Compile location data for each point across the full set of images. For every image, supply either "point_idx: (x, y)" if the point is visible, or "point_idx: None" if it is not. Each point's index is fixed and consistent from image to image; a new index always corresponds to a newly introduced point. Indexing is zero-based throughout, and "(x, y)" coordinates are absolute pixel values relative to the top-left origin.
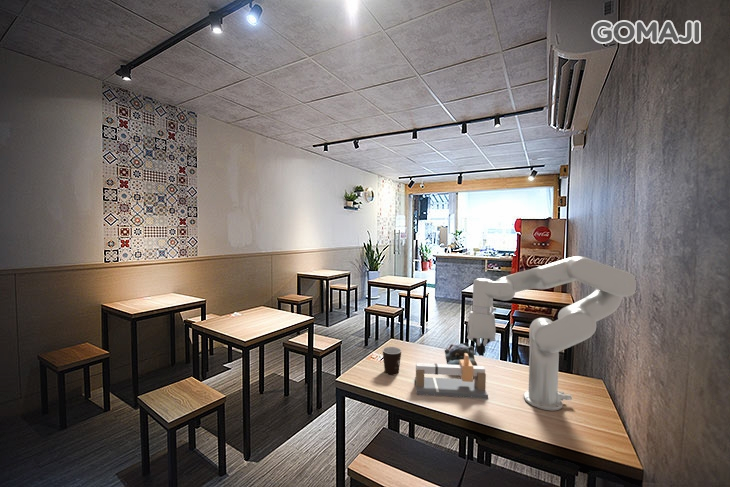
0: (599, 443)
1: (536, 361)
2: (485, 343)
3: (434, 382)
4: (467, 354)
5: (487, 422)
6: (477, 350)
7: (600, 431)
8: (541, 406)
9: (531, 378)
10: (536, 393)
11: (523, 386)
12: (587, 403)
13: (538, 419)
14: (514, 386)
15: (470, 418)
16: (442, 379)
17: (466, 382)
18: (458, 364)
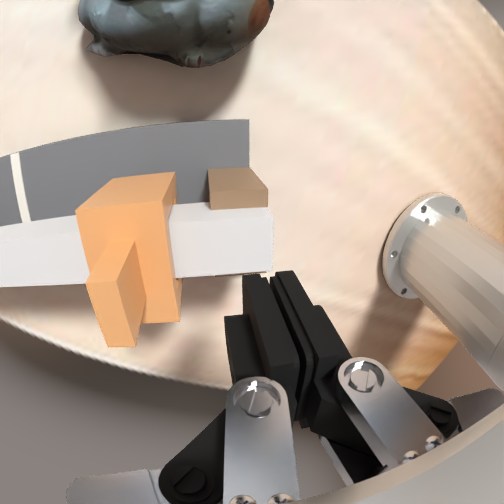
0: (410, 370)
1: (492, 375)
2: (350, 444)
3: (19, 206)
4: (121, 313)
5: (209, 379)
6: (230, 370)
7: (441, 337)
8: (401, 296)
9: (445, 307)
10: (419, 296)
11: (427, 140)
12: (499, 234)
13: (357, 338)
14: (398, 139)
15: (163, 372)
16: (47, 159)
17: (165, 162)
18: (126, 38)
